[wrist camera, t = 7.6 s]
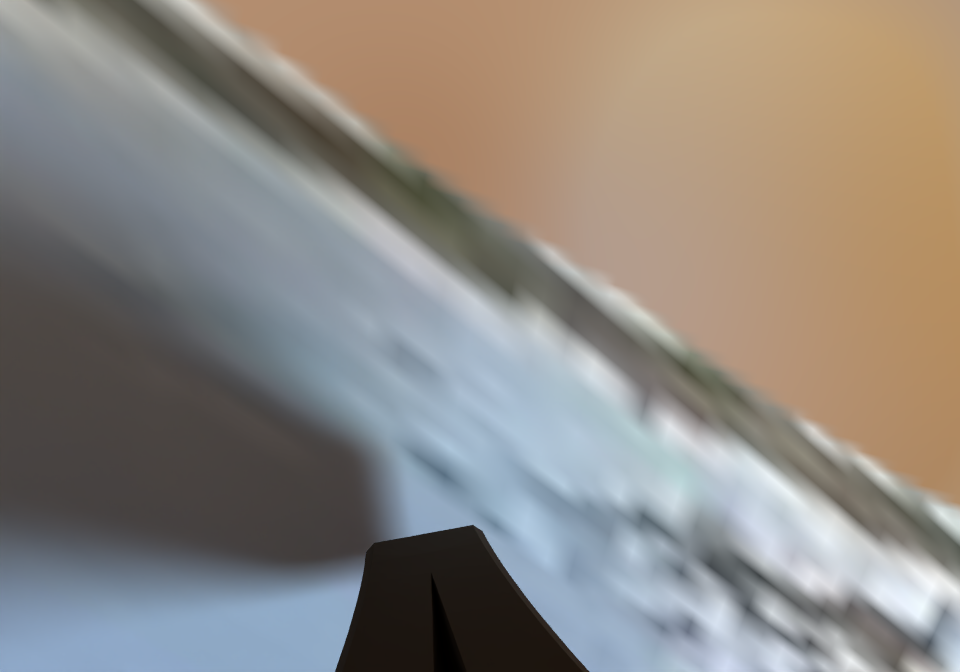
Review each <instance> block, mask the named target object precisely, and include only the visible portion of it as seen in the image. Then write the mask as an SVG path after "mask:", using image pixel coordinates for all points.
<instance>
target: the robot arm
mask: <svg viewBox="0 0 960 672" xmlns="http://www.w3.org/2000/svg"><path fill="white" fill-rule="evenodd" d="M335 672H589V671H588V670H587V669H586V668H585V666H584V665H583V664H582V663H581V662H580V661H579V660H578V659H577V658H576V656H575V655H574V654H573V653H572V652H571V651H570V650H569V649H568V647H567V646H566V645H565V644H564V643H563V641H562V640H561V639H560V638H559V637H558V636H557V634H556V633H555V632H554V631H553V630H552V628H551V627H550V626H549V625H548V624H547V622H546V621H545V620H544V619H543V618H542V617H541V615H540V614H539V613H538V612H537V610H536V609H535V608H534V607H533V605H532V604H531V603H530V602H529V600H528V599H527V598H526V596H525V595H524V594H523V592H522V591H521V590H520V588H519V587H518V586H517V584H516V583H515V581H514V580H513V579H512V577H511V576H510V575H509V573H508V572H507V570H506V569H505V567H504V566H503V565H502V563H501V562H500V560H499V559H498V557H497V555H496V554H495V552H494V551H493V549H492V547H491V546H490V544H489V542H488V541H487V539H486V537H485V535H484V533H483V531H481V530H480V529H478V528H477V527H475V526H474V525H470V526H465V527H460V528H454V529H449V530H443V531H438V532H432V533H427V534H421V535H416V536H411V537H405V538H400V539H394V540H389V541H383V542H378V543H374V544H373V545H372V546H371V547H370V548H369V550H368V551H367V552H366V557H365V566H364V572H363V577H362V582H361V587H360V591H359V595H358V599H357V603H356V607H355V611H354V614H353V618H352V621H351V625H350V628H349V632H348V635H347V638H346V641H345V644H344V647H343V650H342V653H341V656H340V659H339V662H338V665H337V668H336V671H335Z"/></svg>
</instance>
